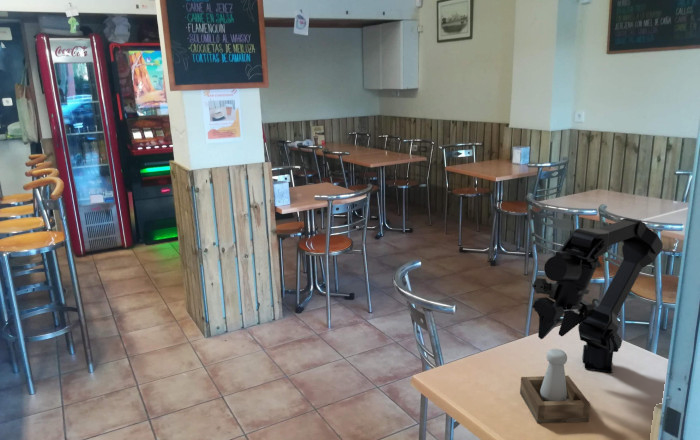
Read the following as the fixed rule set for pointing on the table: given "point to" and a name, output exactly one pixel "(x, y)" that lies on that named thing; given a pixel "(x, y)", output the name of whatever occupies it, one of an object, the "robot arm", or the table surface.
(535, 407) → the socket block
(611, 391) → the table surface
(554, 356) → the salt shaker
